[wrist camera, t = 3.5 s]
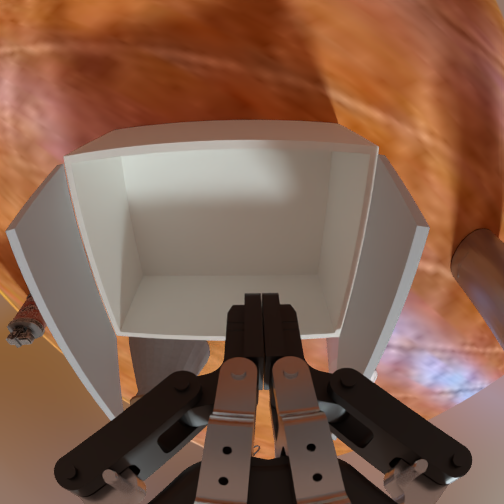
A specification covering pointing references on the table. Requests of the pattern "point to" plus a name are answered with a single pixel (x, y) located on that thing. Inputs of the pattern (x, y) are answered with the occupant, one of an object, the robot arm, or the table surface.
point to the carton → (222, 221)
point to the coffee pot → (165, 360)
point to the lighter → (26, 324)
